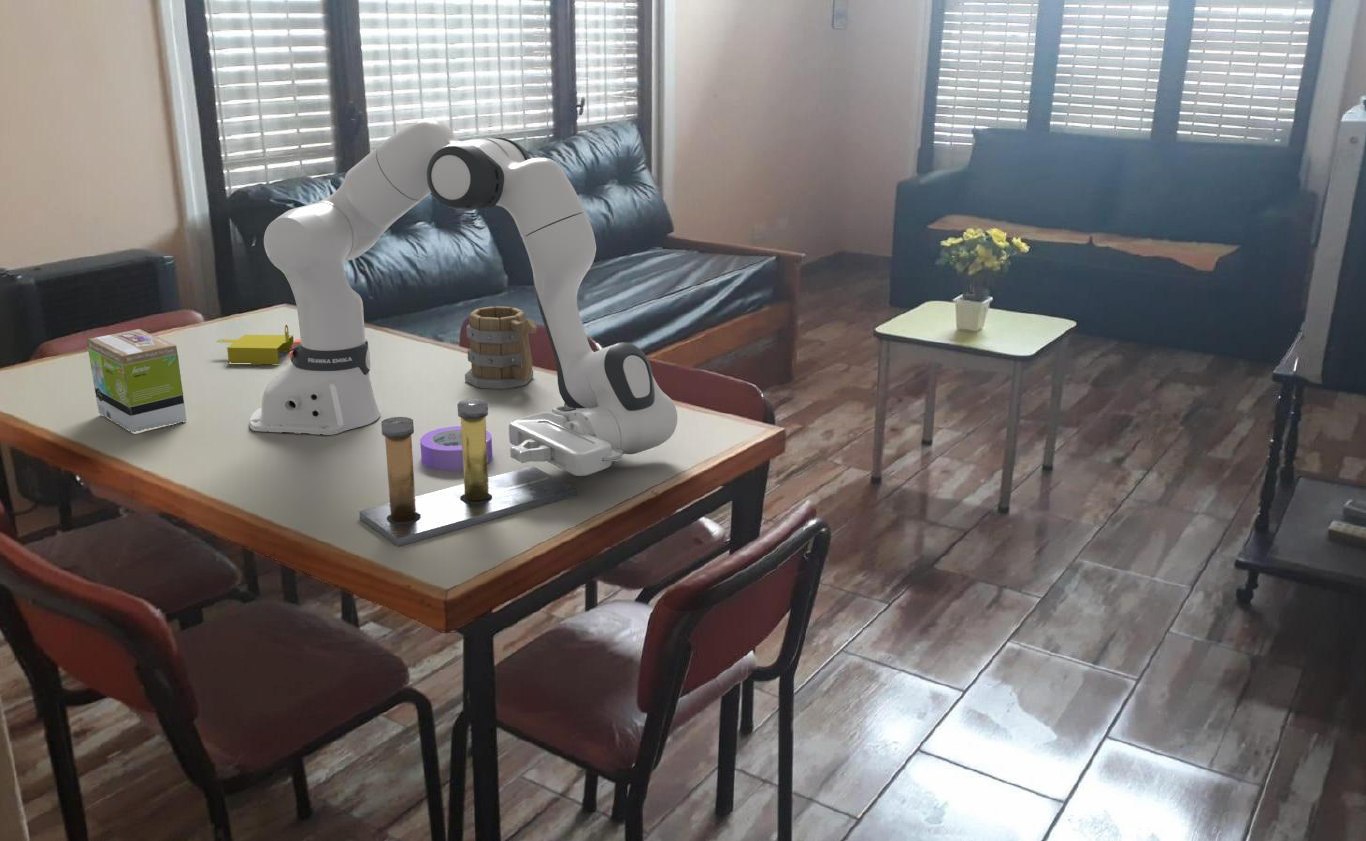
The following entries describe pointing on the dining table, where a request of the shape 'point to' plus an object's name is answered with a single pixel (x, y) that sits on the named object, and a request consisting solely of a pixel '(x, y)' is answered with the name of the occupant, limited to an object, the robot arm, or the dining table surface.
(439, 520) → the plate
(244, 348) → the bracket
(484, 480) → the pin
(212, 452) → the dining table surface
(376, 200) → the robot arm
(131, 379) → the tea box
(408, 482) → the fixed pin
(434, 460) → the masking tape
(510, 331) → the tankard
